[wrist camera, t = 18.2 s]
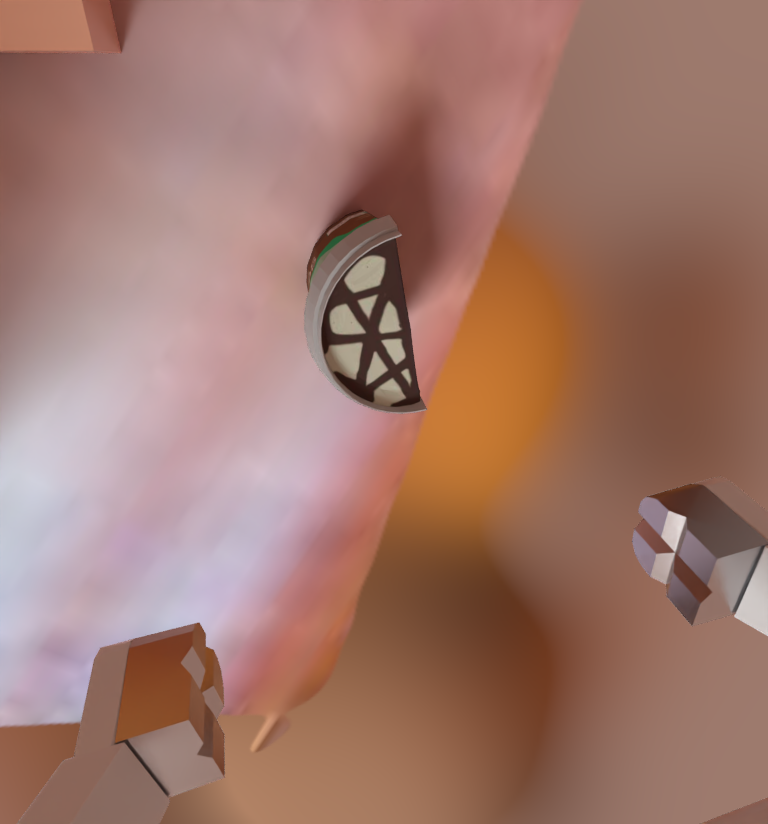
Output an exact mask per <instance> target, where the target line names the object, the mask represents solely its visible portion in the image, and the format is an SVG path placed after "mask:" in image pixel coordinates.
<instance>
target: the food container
mask: <svg viewBox="0 0 768 824" xmlns="http://www.w3.org/2000/svg"><path fill="white" fill-rule="evenodd" d="M400 236H402V235H401V233H400V232H399V231H398V227H397V225H396V223H395V222H394V220H393V219H392V217H391V216H390V215H387V216H384V217H381V218H378V219H377V218H376V217H374V216H372V215H371V214H369V213H367V212H366V211H364V210H360V211H357V212H354V213H351V214H349V215H346V216H345V217H343V218H342V219H340V220H339V221H338V222H336V223H335V224H333V225H332V226H330V227H329V228H328V229H327V230H326V231H325V233H324V234H323V235H322V237H321V238H320V239H319V241H318V242H317V243H316V244H315V246H314V248H313V251H312V254H311V257H310V260H309V263H308V265H307V288H308V295H307V299H306V306H305V312H304V330H305V335H306V340H307V345H308V347H309V350H310V353H311V355H312V358H313V360H314V361H315V363H316V365H317V366H318V368H319V370H320V371H321V372H322V373H323V374H324V376H325V377H326V378H327V379H328V380H329V381H330V382H331V383H332V384H333V386H334V387H335V388H336V389H337V390H339V391H340V392H341V393H342V394H344V395H345V396H346V397H347V398H349V399H351V400H353V401H354V402H356V403H358V404H360V405H363V406H365V407H368V408H371V409H373V410H376V411H381V412H386V413H398V414H404V413H415V412H420V411H424V410H427V408H426V406H425V404H424V402H423V400H422V399H421V397H420V390H419V387H418V382H417V376H416V369H415V362H414V354H413V346H412V337H411V329H410V323H409V318H408V312H407V307H406V301H405V295H404V289H403V283H402V276H401V270H400V263H399V257H398V251H397V244H396V238H397V237H400Z"/></svg>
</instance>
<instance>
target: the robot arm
mask: <svg viewBox="0 0 768 824" xmlns="http://www.w3.org/2000/svg"><path fill="white" fill-rule="evenodd" d="M639 513H640V515H641V516H642V517H643V520H642V521H641V522H640V523H639V524H638V526H637V527H636V528H635V529H634V534H633V540H632V542H633V546H634V550H635V554H636V557H637V559H638V560H639V562H640V564H641V566H642V567H643V568H644V570H645V571H646V572H647V573H648V575H649V576H650V577H652V578H654V579H656V580H658V581H660V582H662V583H664V584H666V594H667V597H668V598H669V600H670V601H671V602H672V603H673V604H674V606H675V607H676V608H677V609H678V610H679V611H680V613H681V614H682V615H683V616H684V617H685V619H686V620H687V621H688V622H689V623H690V624H691V626H695V625H699V624H702V623H706V622H709V621H713V620H716V619H720V618H723V617H726V616H730V615H733V614H735V616H734V617H736V618H737V619H739V620H741V621H743V622H744V623H746V624H748V625H749V626H751V627H753V628H755V629H756V630H758V631H760V632H762V633H763V634H765V635H767V636H768V511H767V510H765V509H764V508H763V507H761V506H760V505H759V504H758V503H757V502H756V501H754V500H753V499H752V498H751V497H749V496H748V495H747V494H746V493H744V492H743V491H742V490H741V489H740V488H738V487H737V486H736V485H735V484H733V483H732V482H731V481H729V480H728V479H726V478H723V477H720V476H719V477H715V478H711V479H707V480H704V481H701V482H697V483H694V484H688V485H684V486H681V487H677V488H674V489H670V490H667V491H664V492H660V493H657V494H654V495H650V496H647V497H645V498H644V500H642V501H641V503H640V507H639ZM223 708H224V687H223V680H222V673H221V668H220V665H219V661H218V658H217V656H216V654H215V652H214V650H213V649H210V648H208V647H206V634H205V632H204V630H203V628H202V626H201V625H200V623H195V624H191V625H187V626H183V627H179V628H175V629H171V630H167V631H163V632H159V633H155V634H151V635H147V636H143V637H139V638H135V639H131V640H128V641H124V642H120V643H117V644H113V645H109V646H105V647H102V648H100V650H99V652H98V653H97V655H96V657H95V659H94V663H93V667H92V672H91V677H90V682H89V686H88V691H87V696H86V701H85V705H84V710H83V715H82V720H81V725H80V729H79V735H78V739H77V744H76V749H75V753H74V757H72V758H69V759H66V760H63V761H62V763H61V764H60V765H59V767H58V768H57V770H56V771H55V772H54V774H53V775H52V776H51V778H50V779H49V780H48V782H47V783H46V785H45V786H44V787H43V789H42V790H41V792H40V793H39V794H38V795H37V797H36V798H35V800H34V801H33V802H32V804H31V805H30V806H29V808H28V809H27V810H26V812H25V813H24V815H23V816H22V817H21V819H20V820H19V821H18V823H17V824H160V821H161V819H162V817H163V815H164V813H165V811H166V809H167V807H168V805H169V802H170V799H169V797H171V796H174V795H177V794H180V793H183V792H186V791H189V790H191V789H194V788H197V787H200V786H203V785H205V784H208V783H211V782H214V781H217V780H219V779H222V778H225V776H224V775H225V771H224V770H225V769H224V768H225V761H224V760H225V757H224V756H225V755H224V754H225V753H224V733H223V730H222V729H221V727H220V725H219V723H218V721H217V718H218V716H219V714H220V713H221V711H222V709H223ZM700 824H768V797H767V798H765V799H762V800H760V801H757V802H754V803H752V804H750V805H747V806H744V807H742V808H739V809H736V810H734V811H731V812H729V813H726V814H724V815H721V816H718V817H716V818H713V819H711V820H708V821H706V822H703V823H700Z"/></svg>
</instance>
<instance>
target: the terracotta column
mask: <svg viewBox="0 0 768 824" xmlns="http://www.w3.org/2000/svg"><path fill="white" fill-rule="evenodd" d="M0 52H7V53H121V49H120V45H119V40H118V36H117V31H116V27H115V22H114V18H113V13H112V9H111V4H110V0H0Z"/></svg>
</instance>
